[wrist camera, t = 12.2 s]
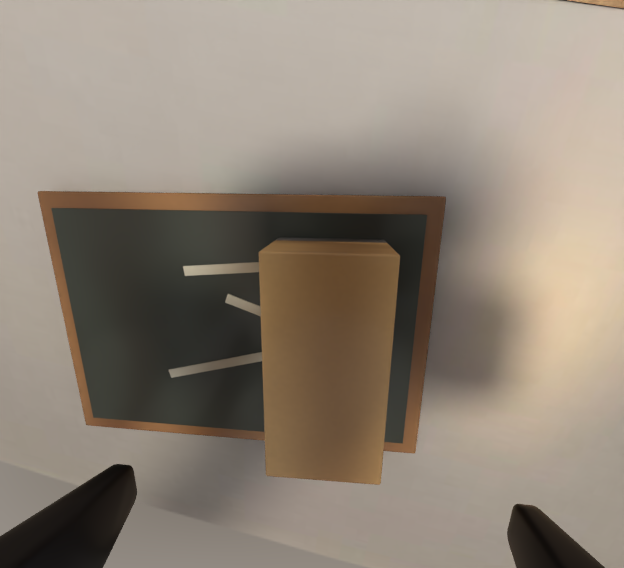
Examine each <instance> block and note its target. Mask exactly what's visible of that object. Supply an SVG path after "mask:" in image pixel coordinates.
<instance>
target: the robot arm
mask: <svg viewBox="0 0 624 568" xmlns="http://www.w3.org/2000/svg"><path fill="white" fill-rule="evenodd" d="M136 495H137V488H136V482H135V476H134V471H133V468H132V467H131V466H130V465H121V464H116V465H113V466H111V467H109V468H108V469H106V470H104V471H103V472H101V473H100V474H98V475H97V476H95V477H93V478H92V479H90V480H89V481H87V482H85V483H84V484H82V485H81V486H79V487H78V488H76V489H75V490H73V491H71V492H70V493H69V494H67V495H65V496H63V497H62V498H60V499H59V500H57V501H56V502H54V503H53V504H51V505H50V506H48V507H46V508H44V509H43V510H41V511H40V512H38V513H36V514H35V515H33V516H32V517H30V518H29V519H27V520H25V521H24V522H22V523H21V524H19V525H17V526H16V527H14V528H13V529H11V530H10V531H8V532H6V533H5V534H3V535H2V536H0V568H103V566H104V564H105V562H106V560H107V558H108V556H109V554H110V552H111V550H112V548H113V546H114V543H115V542H116V539H117V537H118V535H119V533H120V531H121V529H122V527H123V525H124V523H125V521H126V519H127V517H128V515H129V513H130V510H131V508H132V506H133V504H134V502H135V499H136ZM507 535H508V542H509V545H510V549H511V552H512V555H513V558H514V561H515V564H516V567H517V568H605V567H604V566H602V565H601V564H600V563H599V562H598V561H597V560H596V559H595V558H593V557H592V556H591V555H590V554H589V553H588V552H587V551H586V550H585V549H583V548H582V547H581V546H580V545H579V544H578V543H577V542H576V541H574V540H573V539H572V538H571V537H570V536H569V535H568V534H567V533H566V532H564V531H563V530H562V529H561V528H560V527H559V526H558V525H557V524H555V523H554V522H553V521H552V520H551V519H550V518H549V517H548V516H547V515H545V514H544V513H543V512H542V511H541V510H540V509H538V508H537V507H535V506H532V505H524V504H516V505H515V506H514V507H513V510H512V514H511V518H510V522H509V526H508V532H507Z"/></svg>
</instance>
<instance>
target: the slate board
mask: <svg viewBox="0 0 624 568" xmlns="http://www.w3.org/2000/svg"><path fill="white" fill-rule="evenodd" d="M38 197H39V202H40V207H41V211H42V216H43V221H44V226H45V230H46V235H47V240H48V245H49V249H50V254H51V259H52V264H53V269H54V273H55V278H56V283H57V288H58V292H59V297H60V302H61V307H62V311H63V316H64V321H65V326H66V331H67V335H68V340H69V345H70V350H71V354H72V359H73V364H74V369H75V374H76V378H77V383H78V388H79V393H80V397H81V402H82V407H83V412H84V416H85V421H86V425H91V426H102V427H114V428H126V429H137V430H149V431H160V432H172V433H184V434H195V435H207V436H218V437H230V438H242V439H253V440H265V431H264V401H263V371H262V341H261V311H260V281H259V251H261V250H262V249H264V248H265V247H266V246H268V245H269V244H271V243H272V242H273V241H275V240H276V239H277V238H279V237H286V238H331V239H376V240H385V241H386V242H387V243H388V244H389V245H390V246H391V247H392V248H393V249H394V250H395V251H396V252H397V253H398V254H399V255H400V265H399V277H398V288H397V300H396V311H395V323H394V334H393V346H392V357H391V369H390V380H389V392H388V404H387V415H386V427H385V438H384V450H383V451H392V452H404V453H415V451H416V443H417V434H418V426H419V418H420V410H421V401H422V393H423V385H424V376H425V368H426V360H427V352H428V343H429V335H430V327H431V318H432V310H433V302H434V294H435V285H436V277H437V269H438V260H439V252H440V244H441V236H442V227H443V219H444V211H445V202H446V197H440V196H364V195H288V194H211V193H135V192H58V191H39V192H38Z"/></svg>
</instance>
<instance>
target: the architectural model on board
mask: <svg viewBox="0 0 624 568" xmlns="http://www.w3.org/2000/svg"><path fill="white" fill-rule="evenodd" d="M569 1H576V2H583V3H591V4H598V5H605V6H612V7H619V8H624V0H569Z"/></svg>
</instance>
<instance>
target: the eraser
mask: <svg viewBox="0 0 624 568" xmlns="http://www.w3.org/2000/svg"><path fill="white" fill-rule="evenodd" d="M399 265H400V255H399V254H398V253H397V252H396V251H395V250H394V249H393V248H392V247H391V246H390V245H389V244H388V243H387V242H386V241H385V240H376V239H331V238H286V237H279V238H277V239H276V240H275V241H273V242H272V243H271V244H269V245H268V246H266V247H265V248H264V249H262V250H261V251H259V281H260V311H261V341H262V371H263V401H264V431H265V461H266V475H267V476H274V477H287V478H300V479H312V480H325V481H338V482H351V483H364V484H376V485H379V484H380V483H381V473H382V461H383V450H384V438H385V427H386V415H387V404H388V392H389V380H390V369H391V357H392V346H393V334H394V323H395V311H396V300H397V288H398V277H399Z"/></svg>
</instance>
